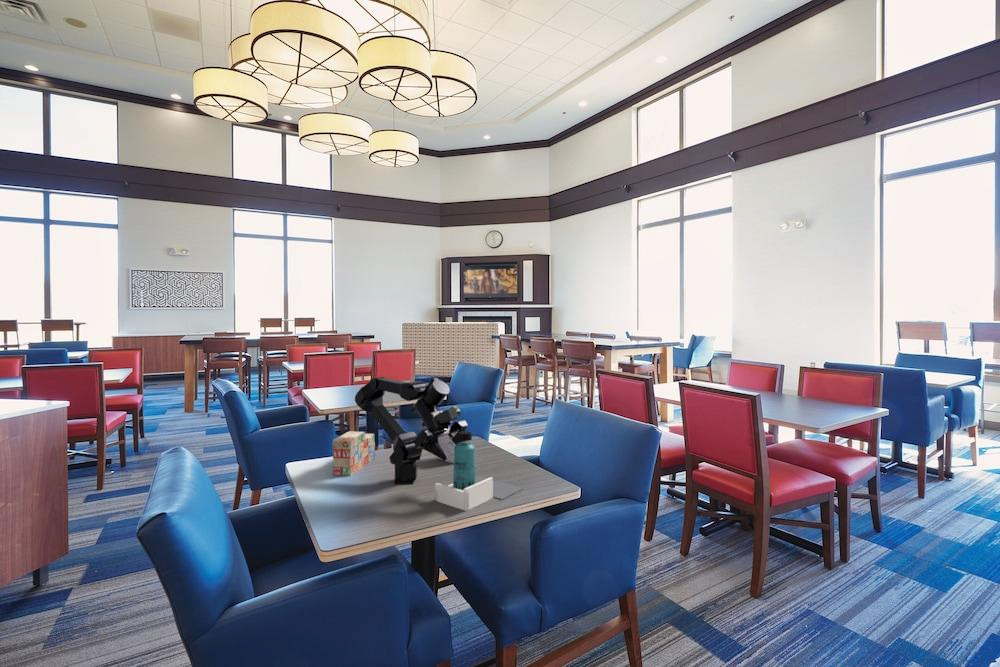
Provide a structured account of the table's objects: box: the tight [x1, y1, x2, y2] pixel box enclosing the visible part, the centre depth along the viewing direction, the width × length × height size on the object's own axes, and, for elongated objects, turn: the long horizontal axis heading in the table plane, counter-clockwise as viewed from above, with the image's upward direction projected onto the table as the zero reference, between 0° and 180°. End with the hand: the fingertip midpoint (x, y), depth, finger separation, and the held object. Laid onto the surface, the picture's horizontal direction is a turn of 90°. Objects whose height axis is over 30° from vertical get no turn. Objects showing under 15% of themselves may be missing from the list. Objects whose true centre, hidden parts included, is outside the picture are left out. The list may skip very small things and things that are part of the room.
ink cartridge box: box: [437, 420, 456, 464], centre depth 176 cm, size 10×6×14 cm, turn 49°
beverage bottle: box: [452, 430, 476, 491], centre depth 138 cm, size 6×7×20 cm
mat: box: [475, 476, 524, 501], centre depth 148 cm, size 18×11×1 cm, turn 53°
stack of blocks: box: [332, 430, 376, 477], centre depth 169 cm, size 21×6×12 cm, turn 173°
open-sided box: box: [434, 476, 494, 512], centre depth 138 cm, size 12×12×6 cm
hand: (456, 456), depth 140 cm, fingers open, 9 cm apart
